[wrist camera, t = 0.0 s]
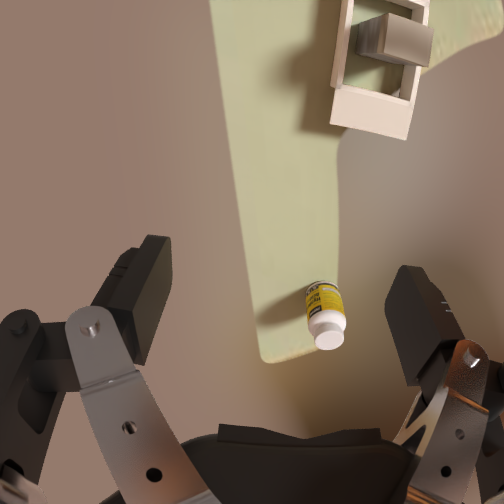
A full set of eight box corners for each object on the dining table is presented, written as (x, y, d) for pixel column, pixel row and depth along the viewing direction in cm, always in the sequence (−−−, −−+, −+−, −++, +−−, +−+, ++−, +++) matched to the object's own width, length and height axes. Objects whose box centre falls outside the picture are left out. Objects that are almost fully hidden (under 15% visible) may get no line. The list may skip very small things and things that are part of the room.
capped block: (359, 23, 28) (389, 12, 20) (395, 33, 28) (433, 29, 20) (355, 53, 30) (383, 52, 22) (390, 63, 30) (428, 67, 22)
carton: (346, -43, 23) (353, -51, 20) (419, -20, 23) (431, -24, 20) (324, 118, 35) (329, 123, 32) (395, 133, 35) (406, 140, 32)
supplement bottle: (314, 275, 47) (321, 323, 39) (345, 285, 48) (357, 332, 40) (299, 300, 50) (303, 348, 42) (329, 309, 51) (337, 356, 43)
